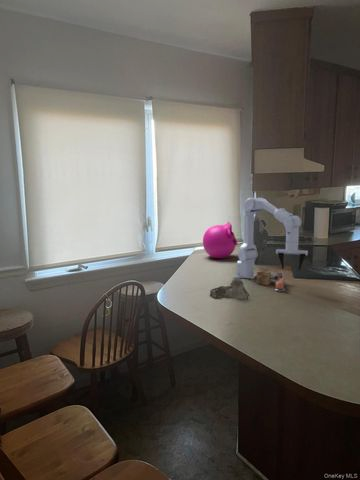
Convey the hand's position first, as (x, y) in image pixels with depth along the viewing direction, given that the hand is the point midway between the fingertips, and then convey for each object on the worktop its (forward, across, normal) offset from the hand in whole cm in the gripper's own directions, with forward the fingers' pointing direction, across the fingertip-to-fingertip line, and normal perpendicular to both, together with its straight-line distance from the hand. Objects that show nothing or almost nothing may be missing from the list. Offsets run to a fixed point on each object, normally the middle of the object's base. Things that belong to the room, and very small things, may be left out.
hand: (291, 268), depth 168 cm
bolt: (+10, -10, +8) cm, 16 cm away
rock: (+10, -26, -19) cm, 34 cm away
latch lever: (+9, -5, -1) cm, 10 cm away
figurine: (+10, -48, +63) cm, 80 cm away
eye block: (+10, -14, +8) cm, 19 cm away
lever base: (+10, -5, -4) cm, 12 cm away
